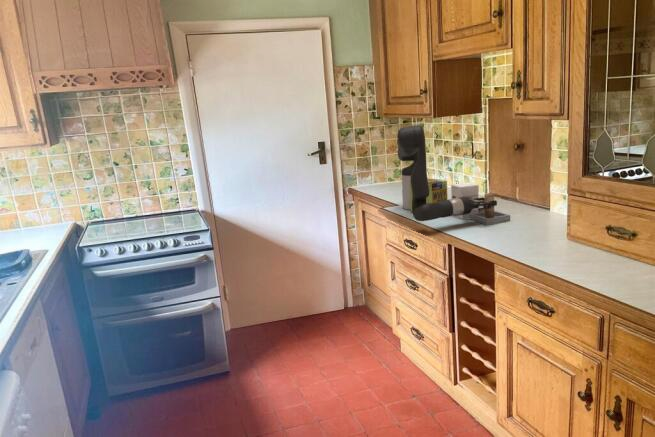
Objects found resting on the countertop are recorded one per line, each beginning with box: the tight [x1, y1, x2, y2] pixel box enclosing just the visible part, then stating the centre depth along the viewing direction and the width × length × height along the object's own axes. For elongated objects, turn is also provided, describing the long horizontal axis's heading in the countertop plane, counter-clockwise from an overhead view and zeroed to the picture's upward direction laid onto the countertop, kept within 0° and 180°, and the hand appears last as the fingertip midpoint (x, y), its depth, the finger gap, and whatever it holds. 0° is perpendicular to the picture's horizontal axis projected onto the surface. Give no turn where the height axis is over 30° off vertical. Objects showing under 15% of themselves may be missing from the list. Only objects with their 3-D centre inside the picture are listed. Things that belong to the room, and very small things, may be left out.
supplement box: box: [450, 181, 480, 221], centre depth 235 cm, size 9×9×15 cm
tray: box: [469, 210, 511, 226], centre depth 226 cm, size 12×12×3 cm
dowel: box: [484, 193, 495, 218], centre depth 225 cm, size 4×4×11 cm
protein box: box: [409, 177, 448, 213], centre depth 249 cm, size 10×15×16 cm
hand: (490, 201), depth 224 cm, fingers open, 8 cm apart
